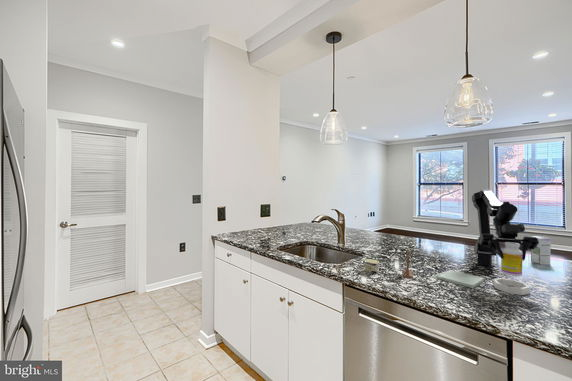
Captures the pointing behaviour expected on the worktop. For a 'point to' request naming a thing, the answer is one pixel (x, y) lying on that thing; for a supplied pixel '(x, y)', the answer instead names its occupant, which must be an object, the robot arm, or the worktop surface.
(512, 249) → the supplement bottle
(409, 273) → the gingerbread man figurine
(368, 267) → the stacked layers on plate
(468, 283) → the sage board
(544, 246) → the syrup box
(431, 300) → the worktop surface
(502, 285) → the white flat octagonal ring
